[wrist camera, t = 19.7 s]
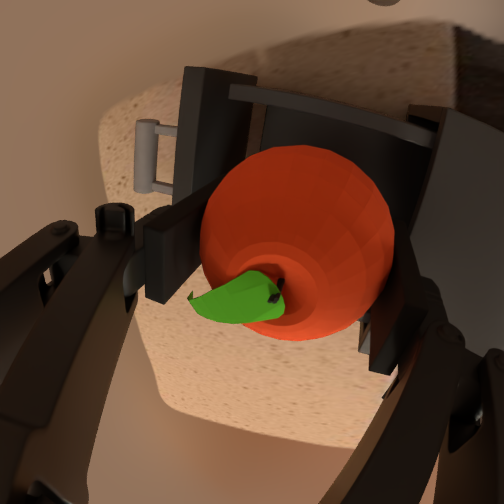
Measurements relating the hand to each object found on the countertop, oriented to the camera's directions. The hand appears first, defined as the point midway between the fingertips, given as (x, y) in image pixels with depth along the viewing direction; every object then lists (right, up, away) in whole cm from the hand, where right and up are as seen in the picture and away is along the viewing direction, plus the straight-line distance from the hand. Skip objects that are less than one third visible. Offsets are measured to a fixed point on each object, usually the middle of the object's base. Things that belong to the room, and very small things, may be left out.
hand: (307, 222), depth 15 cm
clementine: (0, +1, 0) cm, 1 cm away
